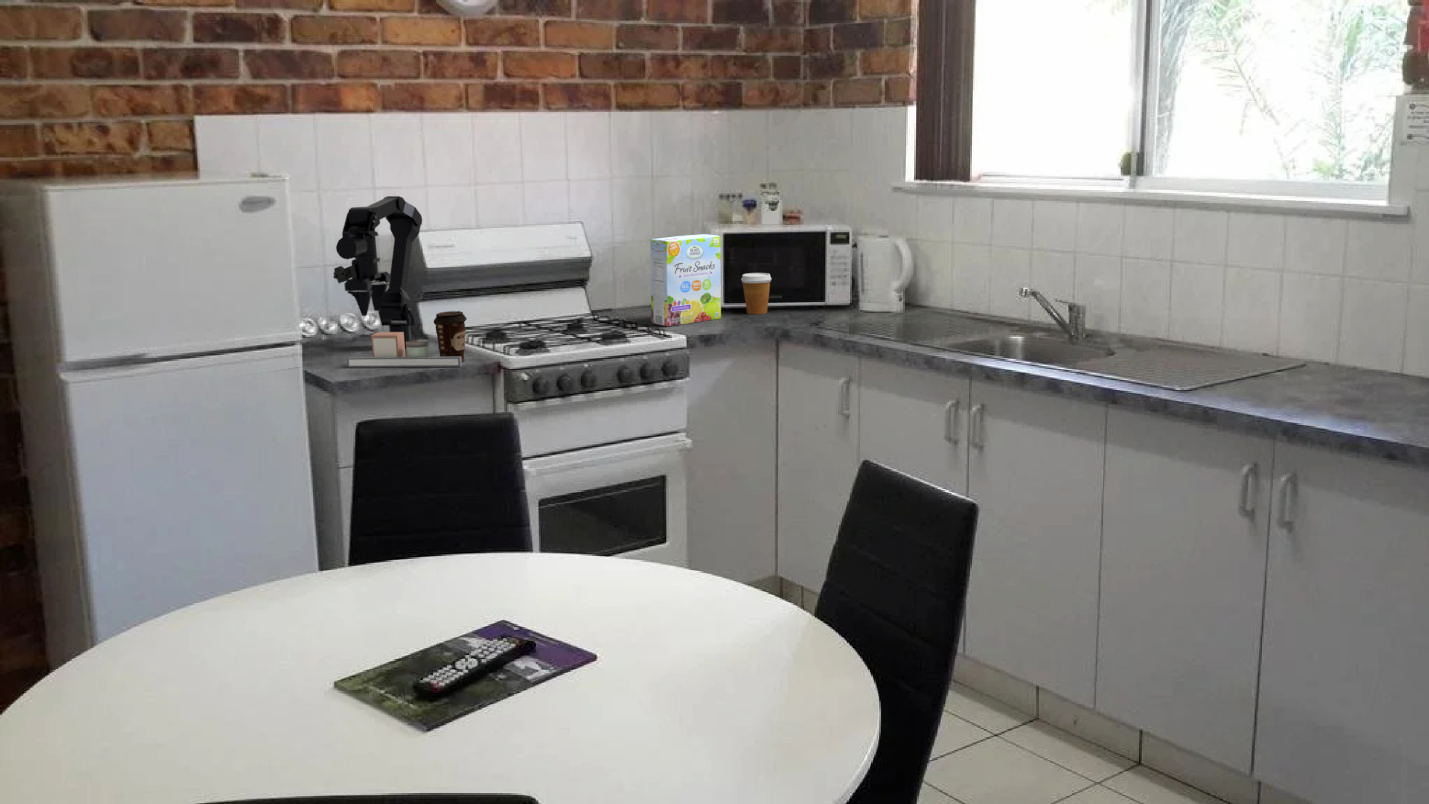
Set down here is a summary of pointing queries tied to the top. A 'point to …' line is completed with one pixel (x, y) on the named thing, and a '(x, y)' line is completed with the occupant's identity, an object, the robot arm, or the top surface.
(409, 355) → the spice jar
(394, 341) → the tea box
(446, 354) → the coffee cup
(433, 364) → the rail
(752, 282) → the disposable coffee cup
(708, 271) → the snack box
